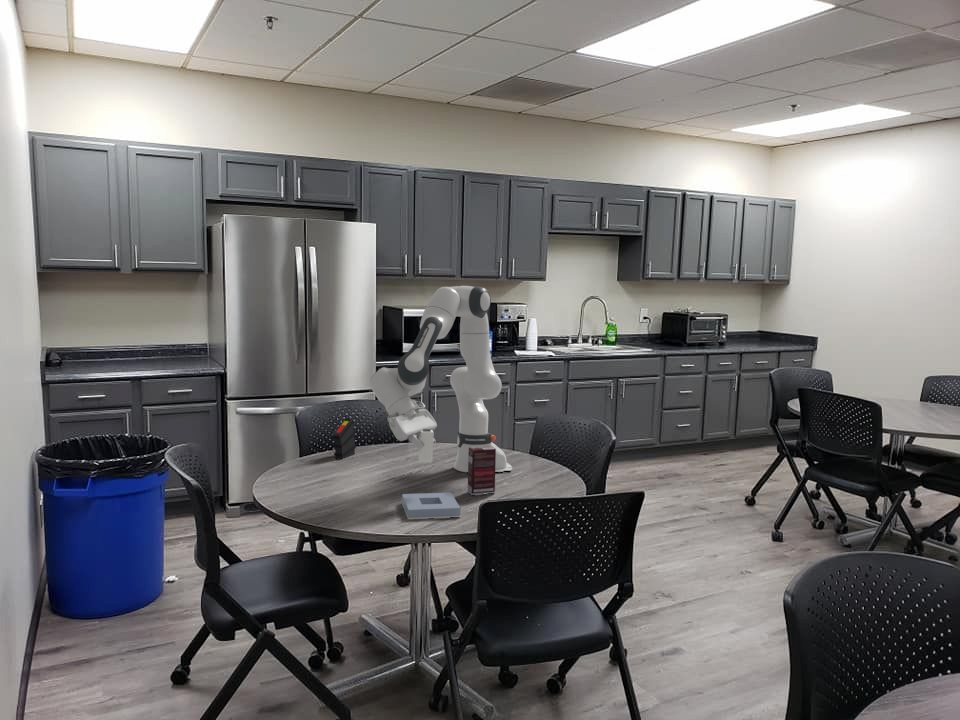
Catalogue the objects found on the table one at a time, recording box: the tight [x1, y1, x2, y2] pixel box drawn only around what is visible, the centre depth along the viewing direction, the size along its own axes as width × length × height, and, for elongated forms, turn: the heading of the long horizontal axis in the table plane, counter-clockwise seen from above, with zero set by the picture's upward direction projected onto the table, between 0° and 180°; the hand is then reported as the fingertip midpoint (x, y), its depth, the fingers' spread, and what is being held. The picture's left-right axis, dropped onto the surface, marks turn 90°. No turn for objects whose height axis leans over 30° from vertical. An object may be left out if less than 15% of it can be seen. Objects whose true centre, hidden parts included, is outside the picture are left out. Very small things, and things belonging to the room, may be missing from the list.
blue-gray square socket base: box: [401, 492, 462, 520], centre depth 226 cm, size 16×16×3 cm
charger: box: [417, 428, 435, 464], centre depth 232 cm, size 4×4×11 cm
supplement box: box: [467, 446, 496, 496], centre depth 245 cm, size 9×5×16 cm, turn 110°
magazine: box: [331, 418, 357, 460], centre depth 288 cm, size 4×13×15 cm, turn 161°
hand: (427, 445), depth 231 cm, fingers closed on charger, 6 cm apart
